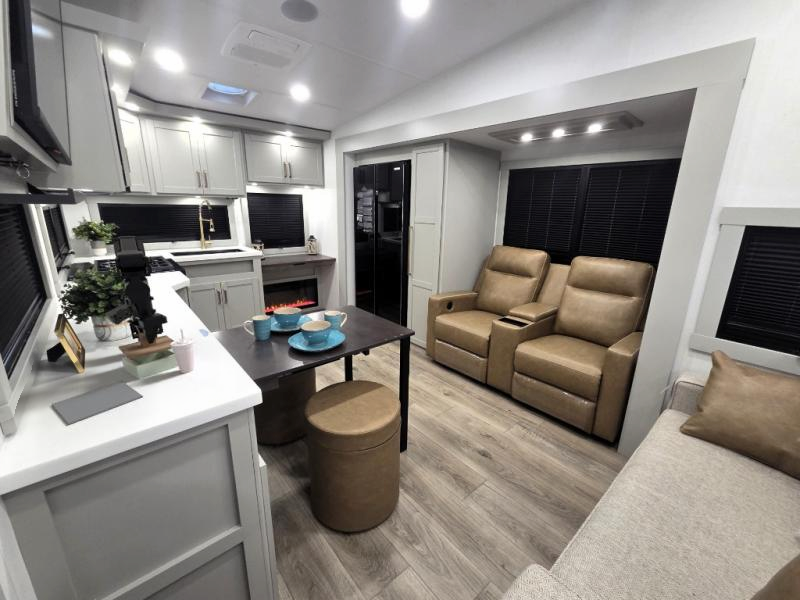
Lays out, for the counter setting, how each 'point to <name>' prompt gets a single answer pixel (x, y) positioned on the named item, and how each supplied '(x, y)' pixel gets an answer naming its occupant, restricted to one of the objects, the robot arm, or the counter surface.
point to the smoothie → (184, 353)
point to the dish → (150, 364)
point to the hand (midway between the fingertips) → (148, 342)
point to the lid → (146, 346)
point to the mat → (95, 402)
